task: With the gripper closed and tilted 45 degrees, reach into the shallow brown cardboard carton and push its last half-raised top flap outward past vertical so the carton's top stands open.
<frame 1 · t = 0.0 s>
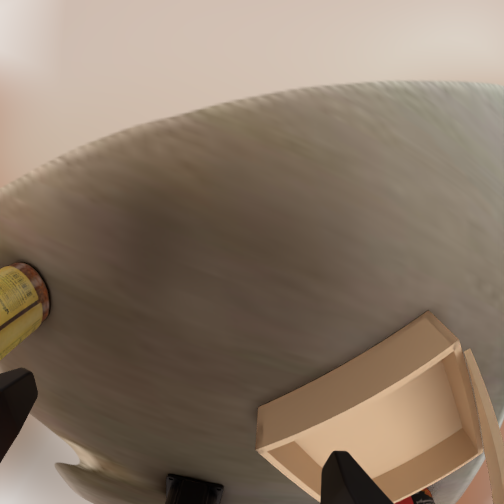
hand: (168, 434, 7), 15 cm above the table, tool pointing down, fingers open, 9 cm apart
sauce bottle: (31, 293, 23), on the table
canned food: (401, 498, 28), on the table
carton flap: (494, 467, 12), point 11 cm above the table, hinge at 75.0°
carton: (381, 423, 24), on the table
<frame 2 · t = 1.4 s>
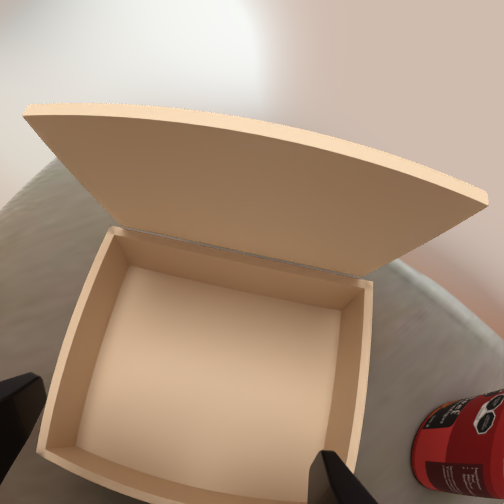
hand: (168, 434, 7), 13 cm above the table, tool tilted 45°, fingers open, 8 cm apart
canned food: (442, 446, 18), on the table
carton flap: (240, 209, 14), point 11 cm above the table, hinge at 75.0°
carton: (211, 387, 20), on the table
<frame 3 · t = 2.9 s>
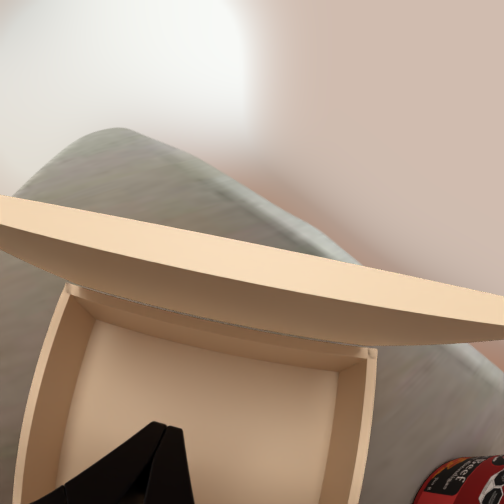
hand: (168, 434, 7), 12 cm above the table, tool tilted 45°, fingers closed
canned food: (444, 501, 14), on the table
carton flap: (202, 300, 10), point 11 cm above the table, hinge at 75.0°
carton: (190, 459, 16), on the table
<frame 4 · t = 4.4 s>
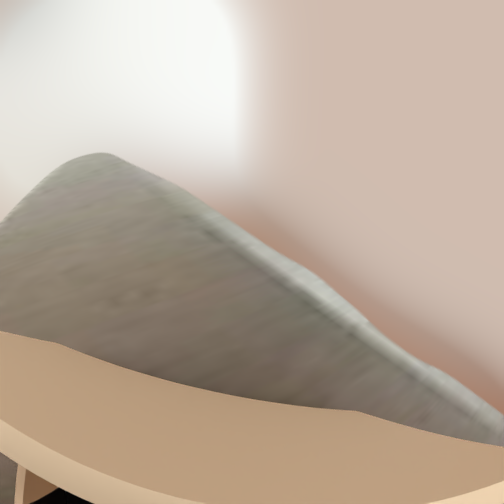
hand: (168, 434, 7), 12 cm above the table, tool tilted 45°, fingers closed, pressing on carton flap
carton flap: (175, 412, 8), point 11 cm above the table, hinge at 79.3°, touching gripper
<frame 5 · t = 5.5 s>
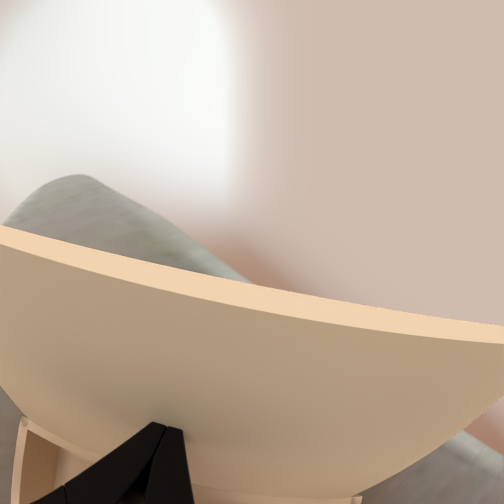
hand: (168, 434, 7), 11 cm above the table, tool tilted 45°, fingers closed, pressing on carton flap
carton flap: (171, 433, 8), point 11 cm above the table, hinge at 116.1°, touching gripper
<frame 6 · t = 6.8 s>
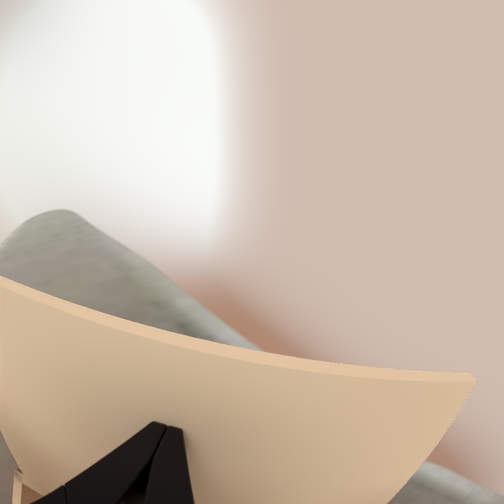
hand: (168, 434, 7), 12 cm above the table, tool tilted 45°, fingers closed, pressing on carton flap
carton flap: (168, 480, 8), point 9 cm above the table, hinge at 135.1°, touching gripper
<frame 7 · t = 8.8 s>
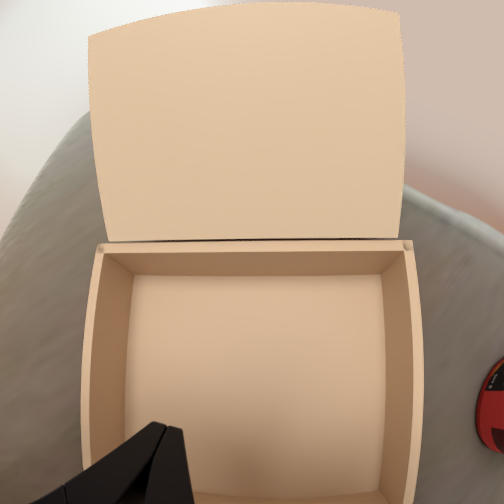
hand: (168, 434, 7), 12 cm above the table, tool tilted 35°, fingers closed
carton flap: (241, 118, 14), point 9 cm above the table, hinge at 135.1°
carton: (251, 391, 18), on the table
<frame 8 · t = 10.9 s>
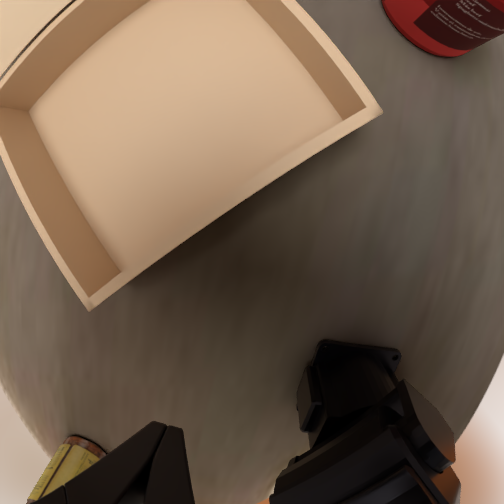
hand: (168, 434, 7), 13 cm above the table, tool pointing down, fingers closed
sauce bottle: (91, 451, 26), on the table
canned food: (424, 14, 15), on the table
carton: (160, 104, 17), on the table
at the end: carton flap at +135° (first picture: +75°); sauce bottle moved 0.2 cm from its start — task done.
